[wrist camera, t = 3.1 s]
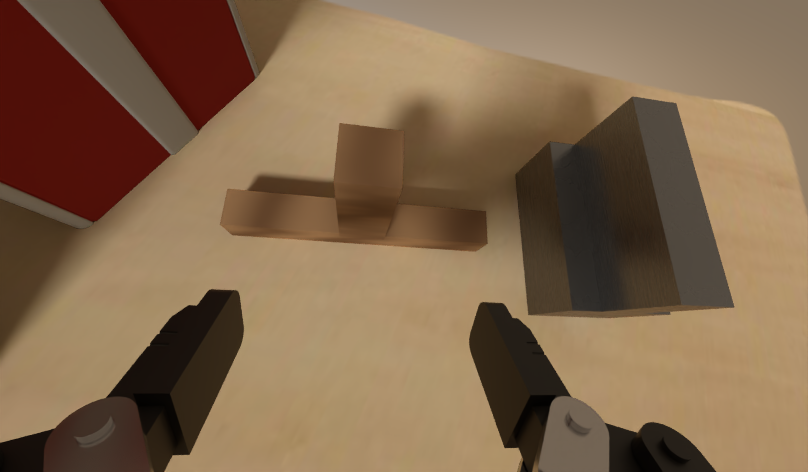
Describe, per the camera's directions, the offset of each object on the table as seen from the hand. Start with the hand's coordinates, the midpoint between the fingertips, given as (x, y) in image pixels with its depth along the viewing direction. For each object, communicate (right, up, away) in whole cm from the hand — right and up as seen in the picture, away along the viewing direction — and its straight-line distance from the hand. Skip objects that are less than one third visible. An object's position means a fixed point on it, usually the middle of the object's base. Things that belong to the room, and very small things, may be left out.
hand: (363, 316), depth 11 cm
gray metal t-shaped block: (+14, +2, +16) cm, 21 cm away
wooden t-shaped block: (-2, +3, +13) cm, 14 cm away
